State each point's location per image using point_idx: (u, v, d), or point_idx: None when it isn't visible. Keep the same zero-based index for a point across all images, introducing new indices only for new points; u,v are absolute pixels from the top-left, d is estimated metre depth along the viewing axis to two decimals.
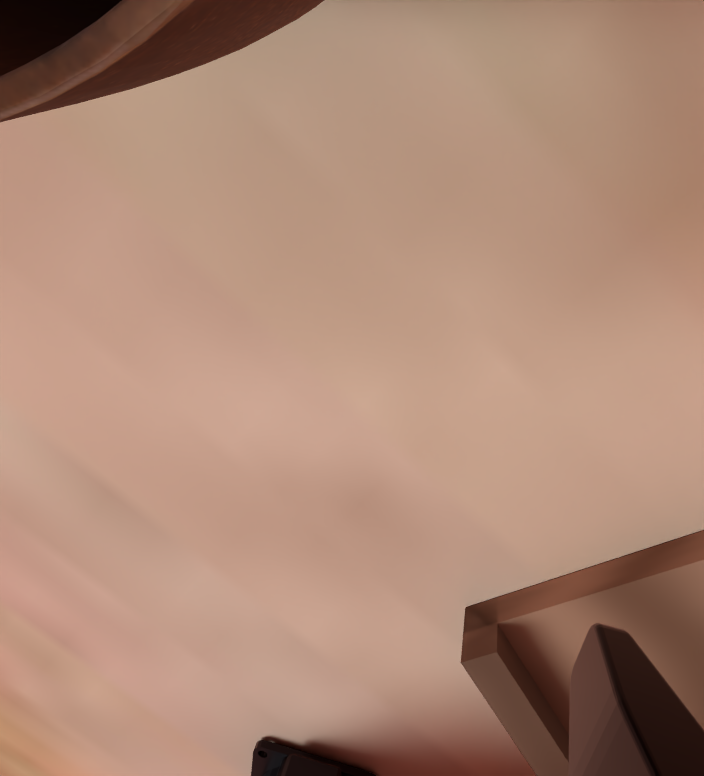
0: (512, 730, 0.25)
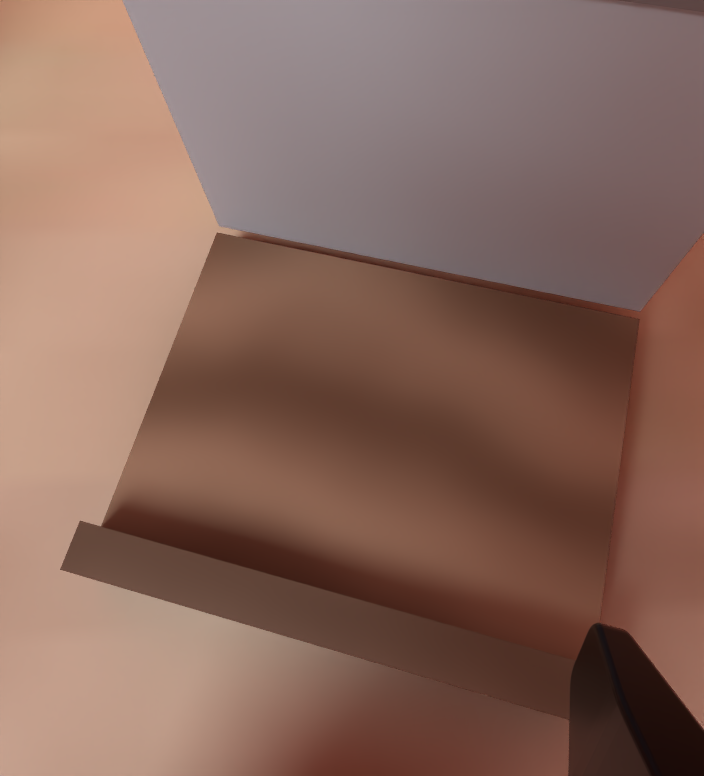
0: (178, 595, 0.19)
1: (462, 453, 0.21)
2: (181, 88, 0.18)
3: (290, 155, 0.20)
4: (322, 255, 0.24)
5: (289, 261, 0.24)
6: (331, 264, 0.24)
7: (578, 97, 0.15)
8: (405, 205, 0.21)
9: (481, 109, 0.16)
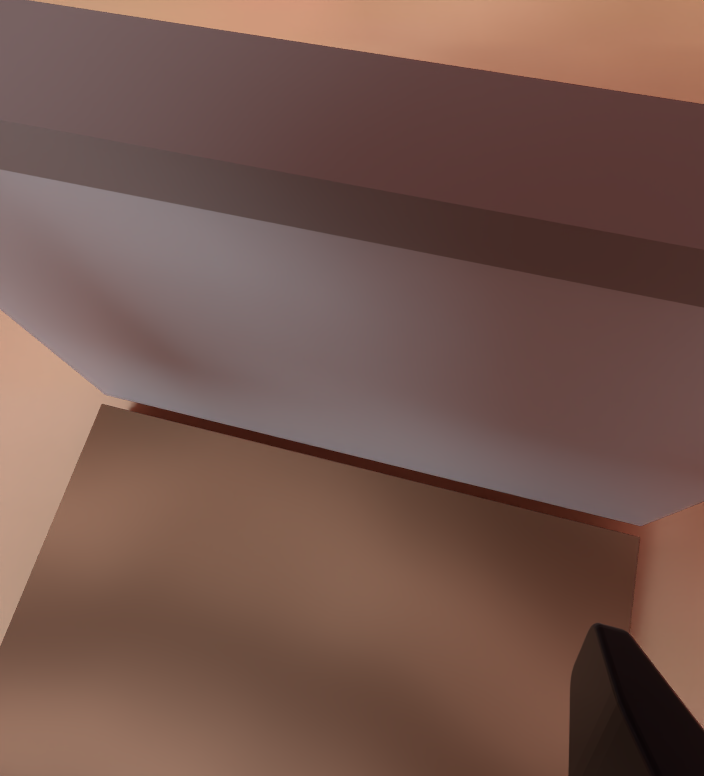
0: None
1: (405, 735, 0.16)
2: None
3: (162, 356, 0.14)
4: (233, 438, 0.19)
5: (191, 446, 0.19)
6: (244, 451, 0.19)
7: (545, 364, 0.10)
8: (325, 413, 0.15)
9: (404, 355, 0.11)
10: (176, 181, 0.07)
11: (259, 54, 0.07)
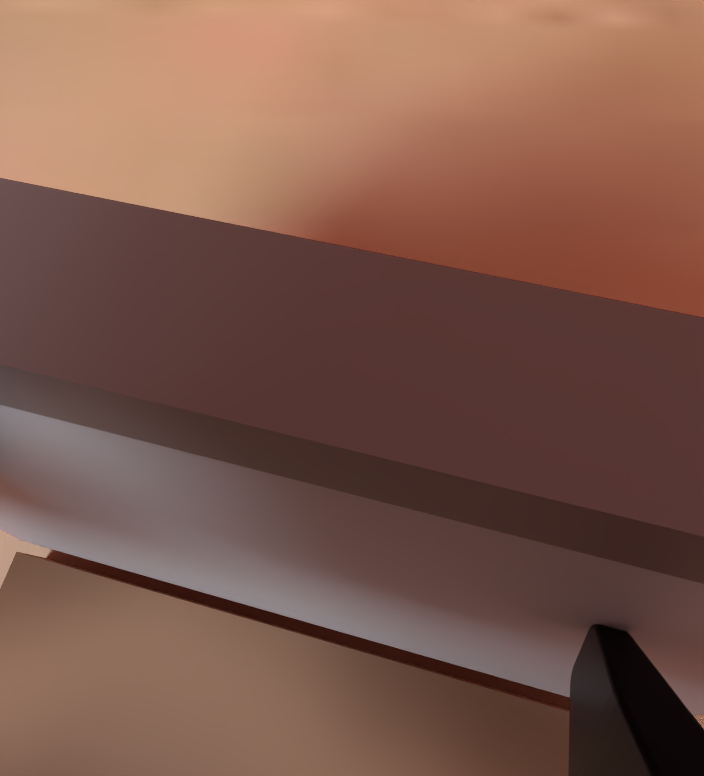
0: None
1: None
2: None
3: (69, 522, 0.12)
4: (165, 597, 0.16)
5: (116, 606, 0.16)
6: (177, 614, 0.16)
7: (519, 593, 0.08)
8: (264, 589, 0.13)
9: (345, 562, 0.09)
10: (16, 391, 0.05)
11: (138, 230, 0.06)
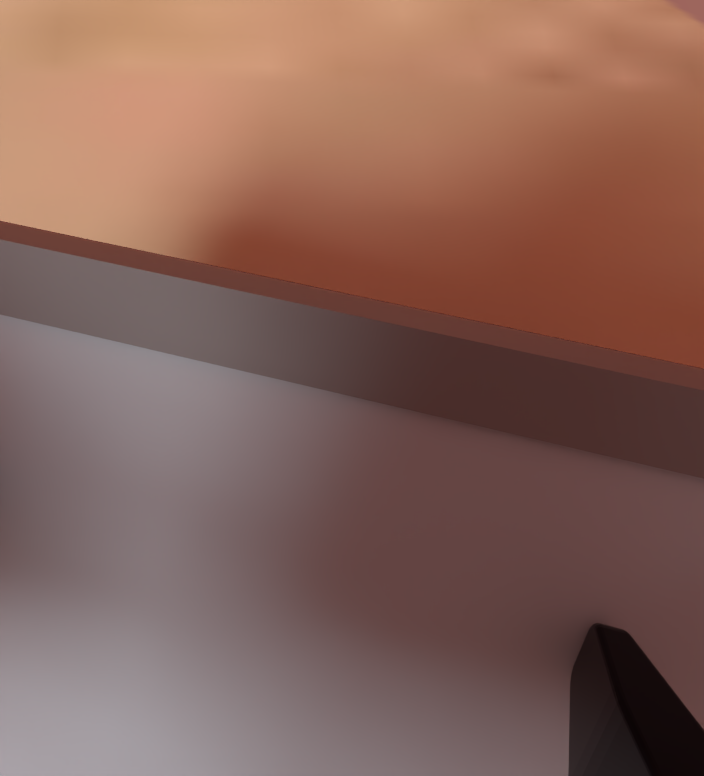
0: None
1: None
2: None
3: None
4: None
5: None
6: None
7: (501, 623, 0.08)
8: None
9: (332, 631, 0.09)
10: (175, 319, 0.08)
11: (266, 279, 0.09)
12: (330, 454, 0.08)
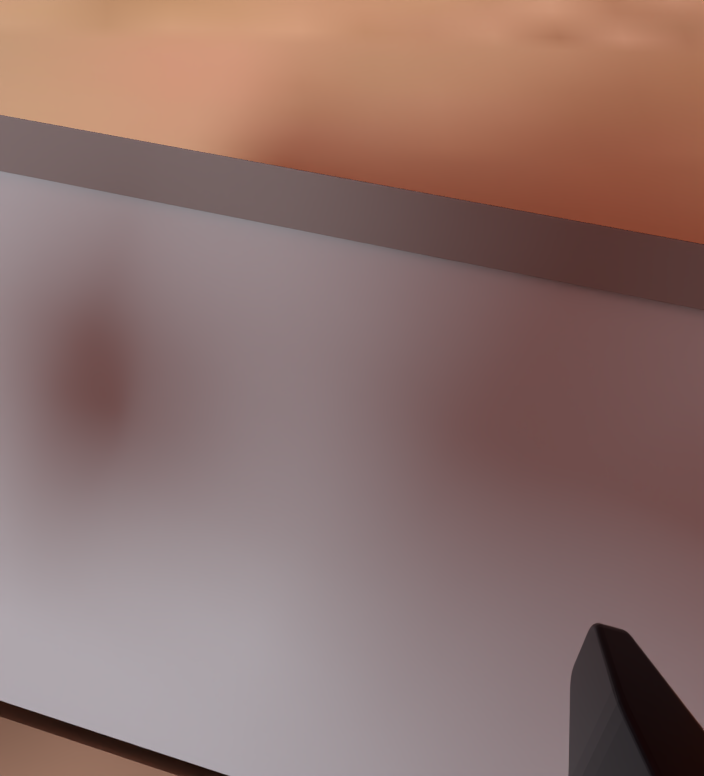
0: None
1: None
2: None
3: (98, 520, 0.13)
4: (93, 750, 0.14)
5: (36, 761, 0.14)
6: (106, 772, 0.14)
7: (518, 427, 0.11)
8: (256, 631, 0.13)
9: (389, 443, 0.12)
10: (281, 198, 0.11)
11: None
12: (392, 300, 0.11)
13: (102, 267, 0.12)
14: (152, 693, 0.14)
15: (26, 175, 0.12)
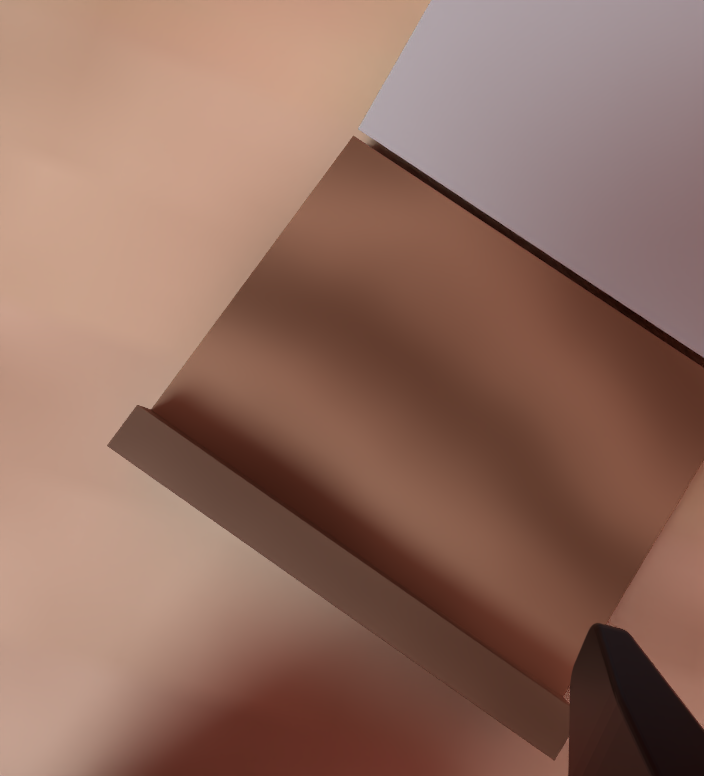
0: (213, 511, 0.19)
1: (519, 464, 0.21)
2: None
3: (532, 49, 0.21)
4: (454, 204, 0.22)
5: (418, 198, 0.22)
6: (460, 218, 0.22)
7: None
8: (600, 153, 0.21)
9: None
10: None
11: None
12: None
13: None
14: (510, 178, 0.22)
15: None
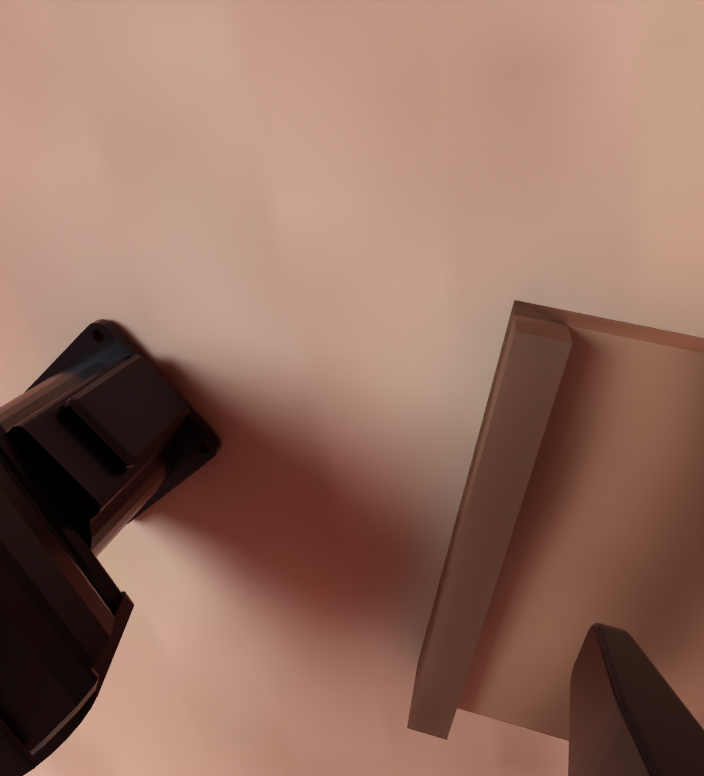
0: (490, 452, 0.19)
1: None
2: None
3: None
4: None
5: None
6: None
7: None
8: None
9: None
10: None
11: None
12: None
13: None
14: None
15: None
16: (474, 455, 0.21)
